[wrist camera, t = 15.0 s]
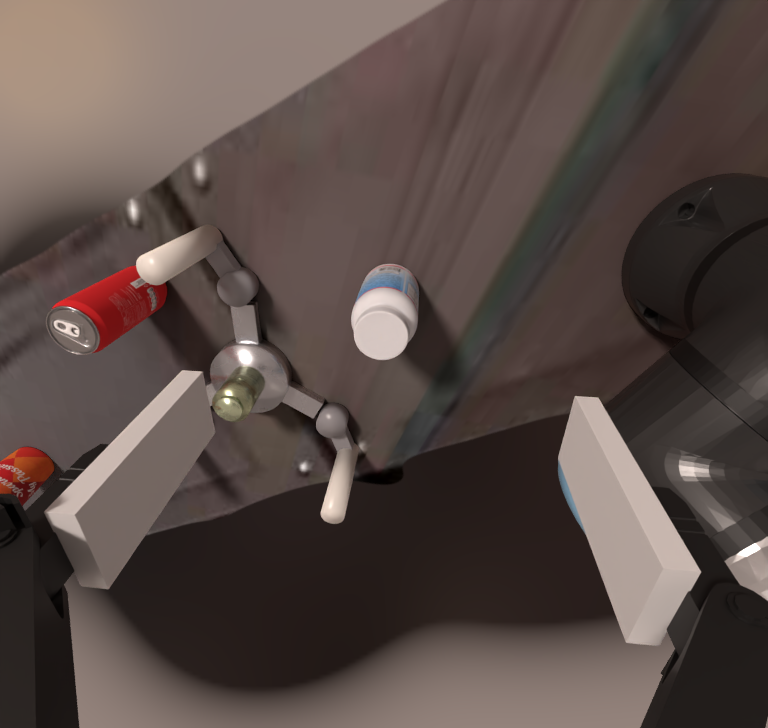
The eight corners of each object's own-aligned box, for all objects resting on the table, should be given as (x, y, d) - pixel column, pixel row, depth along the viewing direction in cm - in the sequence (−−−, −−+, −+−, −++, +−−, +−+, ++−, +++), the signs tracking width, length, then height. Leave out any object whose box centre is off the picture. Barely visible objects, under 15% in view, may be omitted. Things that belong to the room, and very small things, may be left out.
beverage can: (167, 314, 51) (100, 365, 40) (123, 297, 50) (42, 344, 40) (174, 274, 48) (103, 317, 38) (127, 255, 48) (42, 294, 37)
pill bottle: (352, 300, 48) (332, 347, 38) (379, 251, 45) (365, 289, 35) (401, 326, 49) (393, 379, 39) (430, 280, 46) (430, 325, 36)
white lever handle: (265, 290, 48) (224, 334, 38) (239, 304, 49) (193, 350, 40) (216, 217, 45) (157, 245, 35) (189, 234, 46) (125, 265, 36)
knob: (316, 405, 55) (291, 467, 45) (343, 400, 54) (324, 461, 45) (339, 458, 59) (321, 525, 49) (365, 453, 58) (352, 521, 48)
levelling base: (320, 305, 49) (301, 338, 41) (325, 413, 56) (310, 457, 49) (173, 296, 50) (129, 327, 43) (196, 403, 57) (162, 445, 50)
